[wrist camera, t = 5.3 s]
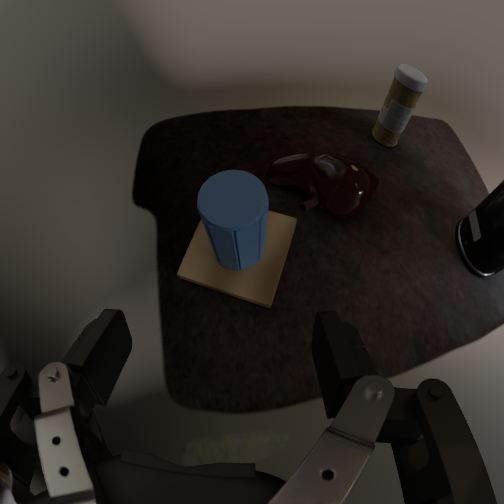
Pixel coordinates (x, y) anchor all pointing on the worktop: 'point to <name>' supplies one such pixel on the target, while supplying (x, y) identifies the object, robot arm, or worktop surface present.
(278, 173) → the dark red glossy lump
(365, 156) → the worktop surface
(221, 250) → the blue sleeve
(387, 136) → the sprinkles bottle
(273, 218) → the dowel stand
